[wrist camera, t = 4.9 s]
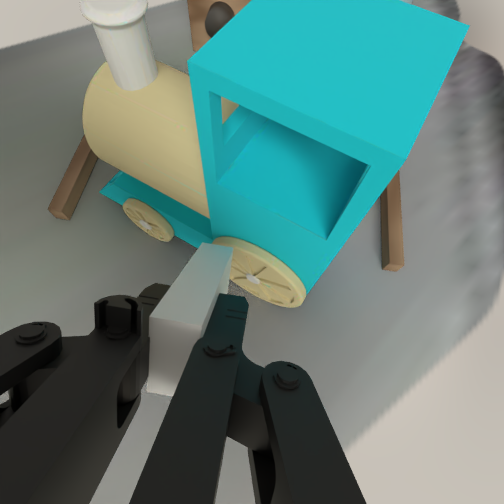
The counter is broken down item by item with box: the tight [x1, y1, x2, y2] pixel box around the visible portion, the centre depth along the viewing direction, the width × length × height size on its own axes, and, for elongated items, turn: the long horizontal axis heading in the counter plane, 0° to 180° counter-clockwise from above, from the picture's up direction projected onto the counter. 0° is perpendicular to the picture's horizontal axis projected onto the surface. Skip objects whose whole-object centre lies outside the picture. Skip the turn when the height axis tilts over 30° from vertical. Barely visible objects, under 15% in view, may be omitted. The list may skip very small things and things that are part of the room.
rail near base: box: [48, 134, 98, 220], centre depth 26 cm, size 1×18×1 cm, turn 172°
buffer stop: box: [187, 0, 251, 51], centre depth 29 cm, size 14×5×6 cm, turn 81°
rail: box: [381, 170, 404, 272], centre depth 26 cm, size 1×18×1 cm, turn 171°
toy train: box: [80, 0, 469, 308], centre depth 17 cm, size 8×17×15 cm, turn 60°
